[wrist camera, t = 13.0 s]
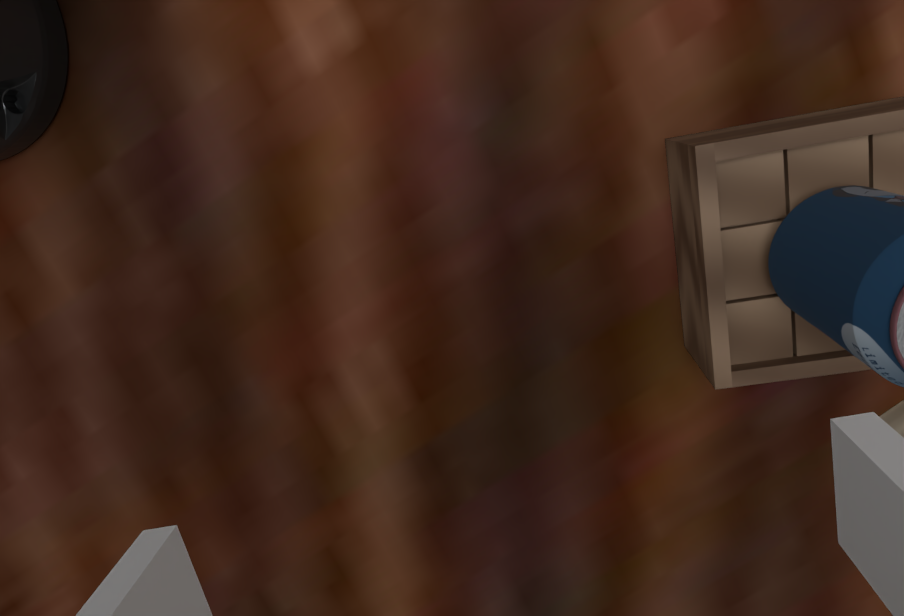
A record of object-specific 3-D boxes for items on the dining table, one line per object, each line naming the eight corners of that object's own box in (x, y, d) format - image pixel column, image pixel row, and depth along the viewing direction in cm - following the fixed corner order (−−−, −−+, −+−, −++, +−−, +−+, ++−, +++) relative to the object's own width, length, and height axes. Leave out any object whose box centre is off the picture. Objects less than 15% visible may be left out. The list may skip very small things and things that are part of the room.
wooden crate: (664, 139, 40) (694, 146, 33) (902, 96, 38) (982, 95, 32) (684, 346, 44) (715, 389, 37) (902, 316, 42) (975, 356, 35)
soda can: (783, 334, 37) (906, 439, 25) (740, 216, 35) (851, 271, 24) (917, 283, 35) (1111, 370, 24) (879, 159, 34) (1067, 187, 22)
